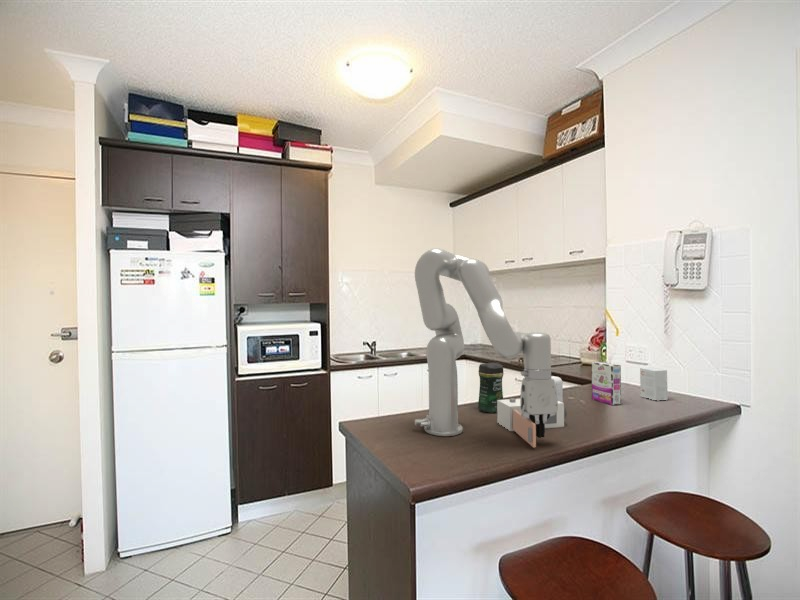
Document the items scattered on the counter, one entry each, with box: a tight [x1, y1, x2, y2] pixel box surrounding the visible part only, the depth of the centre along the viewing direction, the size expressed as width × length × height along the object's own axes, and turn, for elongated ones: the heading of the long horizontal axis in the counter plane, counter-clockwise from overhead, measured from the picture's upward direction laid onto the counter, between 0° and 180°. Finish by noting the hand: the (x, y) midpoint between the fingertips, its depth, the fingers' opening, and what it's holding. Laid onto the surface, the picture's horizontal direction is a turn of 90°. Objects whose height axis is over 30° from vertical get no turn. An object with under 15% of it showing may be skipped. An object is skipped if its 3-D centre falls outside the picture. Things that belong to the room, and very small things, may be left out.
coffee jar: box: [477, 362, 505, 413], centre depth 150 cm, size 10×8×19 cm
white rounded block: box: [551, 375, 564, 403], centre depth 155 cm, size 10×4×12 cm, turn 123°
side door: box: [512, 409, 537, 448], centre depth 117 cm, size 16×2×6 cm, turn 4°
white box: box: [496, 397, 567, 432], centre depth 132 cm, size 22×9×9 cm, turn 102°
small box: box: [639, 367, 669, 401], centre depth 167 cm, size 8×6×13 cm
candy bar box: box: [591, 361, 622, 406], centre depth 162 cm, size 11×5×16 cm, turn 17°
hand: (538, 435), depth 114 cm, fingers closed
